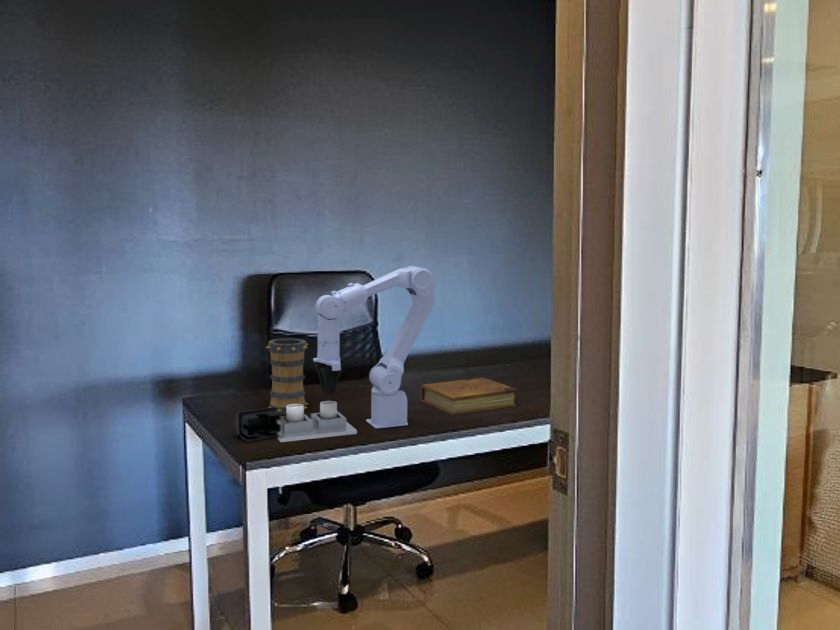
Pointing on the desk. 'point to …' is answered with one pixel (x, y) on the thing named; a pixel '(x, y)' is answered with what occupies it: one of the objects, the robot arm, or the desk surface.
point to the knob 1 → (294, 413)
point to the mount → (314, 428)
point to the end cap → (257, 424)
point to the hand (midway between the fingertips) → (328, 392)
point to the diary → (468, 395)
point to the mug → (287, 373)
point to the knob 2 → (328, 409)
